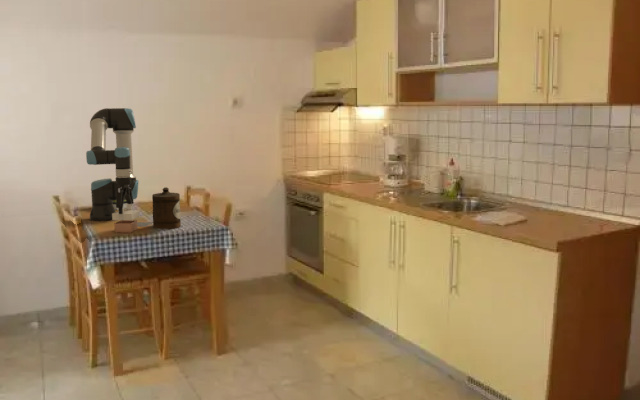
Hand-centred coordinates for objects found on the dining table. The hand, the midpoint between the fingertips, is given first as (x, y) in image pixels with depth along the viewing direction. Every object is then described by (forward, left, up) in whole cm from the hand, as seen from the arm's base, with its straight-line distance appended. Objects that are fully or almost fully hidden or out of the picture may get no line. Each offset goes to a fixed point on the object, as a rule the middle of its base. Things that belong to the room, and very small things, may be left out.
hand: (125, 217), depth 319 cm
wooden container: (+18, +13, -7) cm, 23 cm away
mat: (+1, +16, -7) cm, 18 cm away
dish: (0, 0, -7) cm, 7 cm away
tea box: (-34, +68, -7) cm, 76 cm away
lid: (0, 0, 0) cm, 0 cm away
